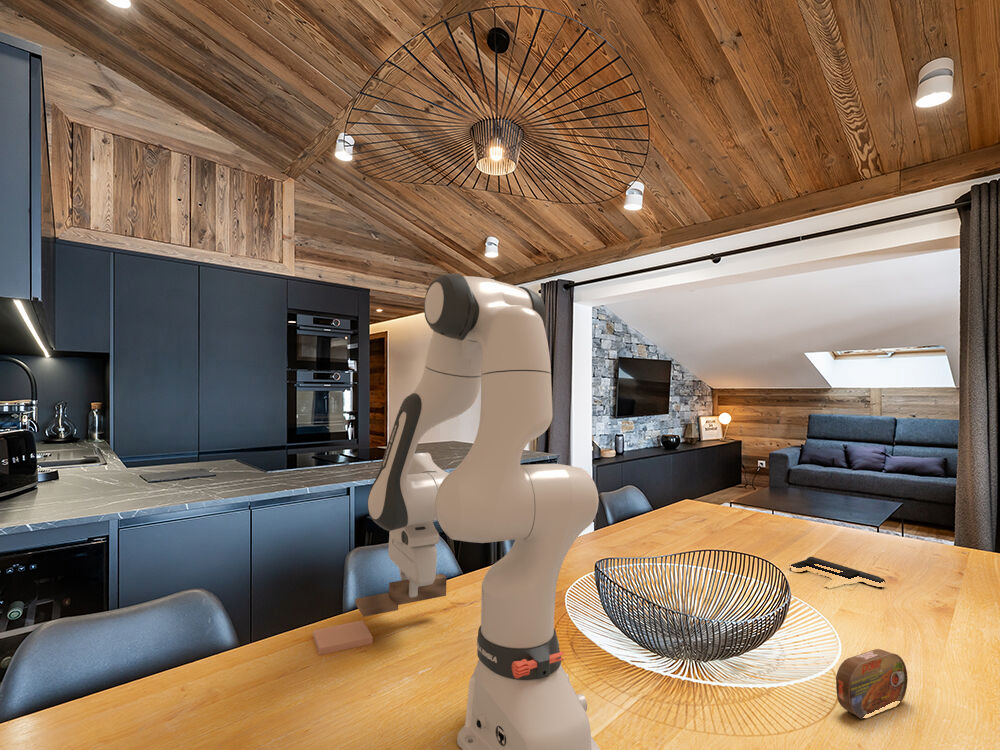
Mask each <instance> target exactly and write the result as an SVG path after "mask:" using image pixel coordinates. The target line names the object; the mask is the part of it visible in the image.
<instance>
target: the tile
mask: <svg viewBox="0 0 1000 750" xmlns="http://www.w3.org/2000/svg"><path fill="white" fill-rule="evenodd" d="M312 638H313V641H314V644H315V647H316V649H317V652H318V655H319V656H323V655H327V654H331V653H335V652H340V651H345V650H348V649H354V648H358V647H362V646H366V645H367V646H368V645H371V644H374V643H373V641H374V640H373V635H372V633H371V632H370V630H369V627H368V626H367V625H366V623H365V622H364V620H363V619H362V620H358V621H353V622H347V623H343V624H338V625H333V626H332V625H331V626H327V627H323V628H317V629H313V630H312Z"/></svg>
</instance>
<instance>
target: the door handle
mask: <svg viewBox="0 0 1000 750" xmlns="http://www.w3.org/2000/svg"><path fill="white" fill-rule="evenodd" d="M814 564H819V565H822V566H826V567H830V568H833V569H837V570H840V571H843V572H840V573H837V572H834V571H831V570H827V569H824V568H821V567H818V566H815V565H814ZM790 565H791V566H793V567H796V568H802V567H806V566H809V567H812V568H815V569H818V570H822V571H825V572H829V573H832V574H835V575H839V576H842V577H845V578H848V579H851V578H854V577H857V576H859V577H862V578H866V579H869V580H872V581H875V582H879V583H881V582H883V581H884V582H885V583H886V579H884V578H882V577H880V576H878V575H875V574H871V573H868V572H864V571H862V570H858V569H855V568H853V567H851V568H850V567H848V566H845V565H841V564H838V563H835V562H831V561H827V560H825V559H822V558H818V557H814V556H808V557H807V558H806V559H803V560H801V561H798V562H794V563H792V564H790Z"/></svg>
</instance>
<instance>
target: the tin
mask: <svg viewBox="0 0 1000 750" xmlns="http://www.w3.org/2000/svg"><path fill="white" fill-rule="evenodd" d="M835 684H836V686H835V687H836V688H835V689H836V698H837V701H838V704H839V705H840V707H842V708H843V709H844V710H845V711H847V712H849V713H850V714H853V715H854V716H856V717H857V718H859V719H862V720H864V719H863V717H864V716H865V715H866V714H869V713H872V712H874V711H875V710H879V709H880V708H882V707H885V706H886V705H888V704H890V703H892V702H895V701H900V702H901V701H902V702H903V700H904V698H905V695H906V693H907V688H908V671H907V666H906V664H905V661H904V660H903V659H902V657H901V655H898V654H896V653H892V652H889V651H886V650H883V649H880V648H876V649H871V650H869V651H866V652H863V653H860V654H857V655H854V656H851V657H848V658H846V659H844V661H842V663H840V666H839V667H838V670H837V672H836V676H835ZM902 702H901V703H902Z"/></svg>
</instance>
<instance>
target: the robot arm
mask: <svg viewBox="0 0 1000 750" xmlns="http://www.w3.org/2000/svg"><path fill="white" fill-rule="evenodd" d="M423 302H424V303H423V304H424V305H423V312H424V318H425V322H426V323H427V324H428V326H429V328H430V329H431V330H432V331H433V332H432V335H431V338H430V341H429V345H428V349H427V352H426V353H427V354H426V357H425V363H424V364H425V365H424V369H423V373H422V375H421V378H420V380H419V382H418V384H417V386H416V387H415V389H414V390H413V391H412V393H411V394H409V395H408V396H405V398H404V399H403V401H402V403H401V404H400V406H399V410H398V412H397V415H396V418H395V421H394V423H393V427H392V429H391V433H390V435H389V439H388V442H387V445H386V449H385V452H384V455H383V458H382V462H381V463H380V466H379V470H378V472H377V475H376V477H375V480H373V483H372V485H371V487H370V490H369V492H368V496H367V512H368V515H369V517H370V519H371V520H372V521H373V522H374V523H375V524H376V525H377V526H379V528H382V529H383V530H386V531H387V532H389V537H388V552H387V554H388V557H389V559H390V561H392V563H393V564H395V566H397V568H399V570H398V571H399V577H400V581H401V580H407V579H409V581H410V583H409V587H407V591H408V592H407V594H408V595H409V597H411V598H412V597H416V596H417V595H418V587H419V586H426V585H431V584H433V582H434V580H435V577H436V574H437V561H438V551H437V545H438V544H439V543H440V534H439V531H438V530H437V529H436V527H435V525H434V521H437V522H438V523H439V526H440V528H441V529H442V531H443V532H444V533H445V535H446V536H448V537H449V538H450V539H451V540H453V541H461V542H468V543H478V544H479V543H480V544H484V543H485V544H486V543H496V542H505V541H513V540H514V542H513V544H512V546H511V548H510V549H509V550H508V552H506V554H505V555H504V556H503V557H502V558H501V559H499V560H497V561H496V562H495V563H494V564H492V565H491V566H490V567H489V569H487V571H486V573H485V575H484V577H483V580H482V581H481V602H480V603H481V604H480V607H481V608H480V611H481V612H480V625H479V627H478V630H477V637H476V646H477V651H476V652H477V653H476V655H477V657H478V661H477V663H476V666H475V669H474V671H473V673H472V675H471V677H470V680H469V682H468V691H467V703H466V714H465V715H466V716H465V724H464V726H462V727H461V728H460V730H459V731H458V733H457V738H456V744H457V745H458V747H459V748H461V750H601V748H600V747H599V745H598V744H597V742H596V741H595V740H594V738H593V737H592V733H591V732H592V731H591V725H590V723H591V722H590V720H589V717H588V715H587V710H588V701H587V699H586V695H584V694H583V693H578V694H577V693H576V691H575V688H574V687H573V685H572V683H571V681H570V676H569V674H568V673H567V672H566V671H565V670H564V667H563V665H562V661H563V660H565V658H564V657H562V656H563V655H565V651H561V650H560V642H559V639H558V635H557V631H556V629H555V610H556V609H555V607H556V593H557V585H558V579H559V574H560V572H561V568H562V566H563V563H564V562H565V558H566V556H567V554H568V553H569V551H570V548H572V546H573V544H574V542H575V541H576V540H577V539H578V537H579V536H580V535H581V534H582V533H583V532H584V531H585V530H586V529H587V528H588V527H589V526H591V525H592V524H593V522H594V520H595V518H596V516H597V513H598V511H599V503H600V501H599V500H600V499H599V492H598V488H597V484H596V483H595V481H594V479H593V478H592V476H591V475H590V474H589V473H588V472H587V471H586V470H585V469H584V468H582V467H577V466H573V465H567V464H563V463H562V464H561V463H536V464H534V463H533V464H521V460H522V455H523V453H524V450H525V449H526V447H527V445H528V444H529V443H530V442H532V441H534V440H535V439H538V438H539V437H541V436H542V435H543V434H544V433H545V432H546V431H547V430H548V429H549V427H550V425H551V423H552V420H553V392H552V391H553V390H552V368H551V366H552V365H551V358H550V349H549V343H548V337H547V332H546V328H545V324H546V323H545V322H546V315H547V313H546V305H545V303H544V300H543V299H542V297H541V296H540V295H539V294H538V293H536V291H534V290H532V289H530V288H527V287H525V286H516V285H513V284H510V283H506V282H502V281H500V280H499V281H498V280H496V279H493V278H488V277H482V276H473V275H471V276H470V275H469V276H468V275H462V274H460V273H445V274H440V275H438V276H436V277H435V278H434V279H433V281H431V283H430V284H429V285H428V287H427V290H426V293H425V297H424V301H423ZM479 392H480V414H479V425H478V429H477V433H476V436H475V438H474V441H473V444H472V446H471V447H470V449H469V451H468V453H467V454H466V456H465V457H464V459H463V460H462V461H461V462H460V464H458V465H457V466H456V467H455V468H454V470H452V471H450V472H449V471H445V470H443V469H442V468H440V467H439V466H438V465H437V464H436V463H435V462H434V461H433V458H432V455H431V454H430V453H429V452H427V451H425V450H418V451H416V450H417V447H418V444H419V442H420V440H421V439H422V437H423V436H424V435H425V434H426V433H428V431H430V430H431V429H434V428H435V427H436V426H438V425H439V424H442V423H444V422H446V421H448V420H452V419H455V418H456V417H457V418H458V416H461V415H463V413H464V414H465V412H466V411H468V410H469V409H470V408H471V407H473V405H474V404H475V402H476V400H477V398H478V396H479Z"/></svg>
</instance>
